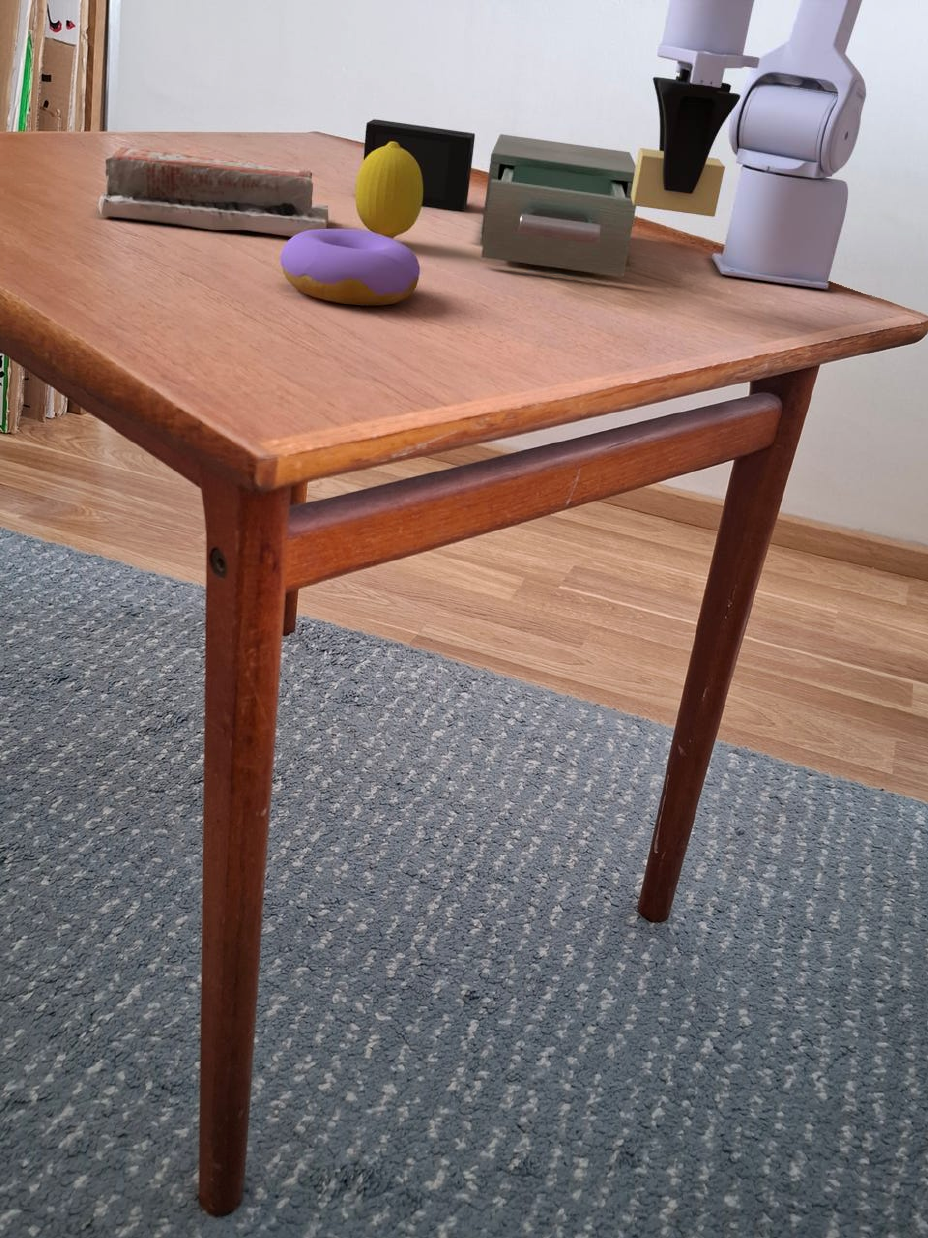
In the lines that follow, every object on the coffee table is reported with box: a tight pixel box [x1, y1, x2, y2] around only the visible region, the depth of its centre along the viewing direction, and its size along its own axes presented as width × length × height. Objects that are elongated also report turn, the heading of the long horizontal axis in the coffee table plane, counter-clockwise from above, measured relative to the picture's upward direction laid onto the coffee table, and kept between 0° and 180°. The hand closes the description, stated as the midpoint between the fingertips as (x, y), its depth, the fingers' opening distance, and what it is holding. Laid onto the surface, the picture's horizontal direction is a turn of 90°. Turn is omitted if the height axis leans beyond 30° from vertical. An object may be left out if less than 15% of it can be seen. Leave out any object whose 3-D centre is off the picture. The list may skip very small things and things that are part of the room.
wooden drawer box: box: [479, 133, 636, 246], centre depth 109 cm, size 16×13×8 cm
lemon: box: [354, 142, 423, 239], centre depth 98 cm, size 6×6×8 cm
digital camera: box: [363, 118, 476, 212], centre depth 119 cm, size 10×5×7 cm, turn 84°
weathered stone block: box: [97, 146, 329, 238], centre depth 99 cm, size 18×5×10 cm
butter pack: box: [631, 147, 726, 218], centre depth 88 cm, size 6×4×4 cm
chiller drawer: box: [480, 165, 637, 278], centre depth 98 cm, size 19×11×6 cm, turn 176°
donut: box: [280, 228, 421, 306], centre depth 82 cm, size 10×9×5 cm
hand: (675, 186), depth 88 cm, fingers closed on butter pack, 4 cm apart
